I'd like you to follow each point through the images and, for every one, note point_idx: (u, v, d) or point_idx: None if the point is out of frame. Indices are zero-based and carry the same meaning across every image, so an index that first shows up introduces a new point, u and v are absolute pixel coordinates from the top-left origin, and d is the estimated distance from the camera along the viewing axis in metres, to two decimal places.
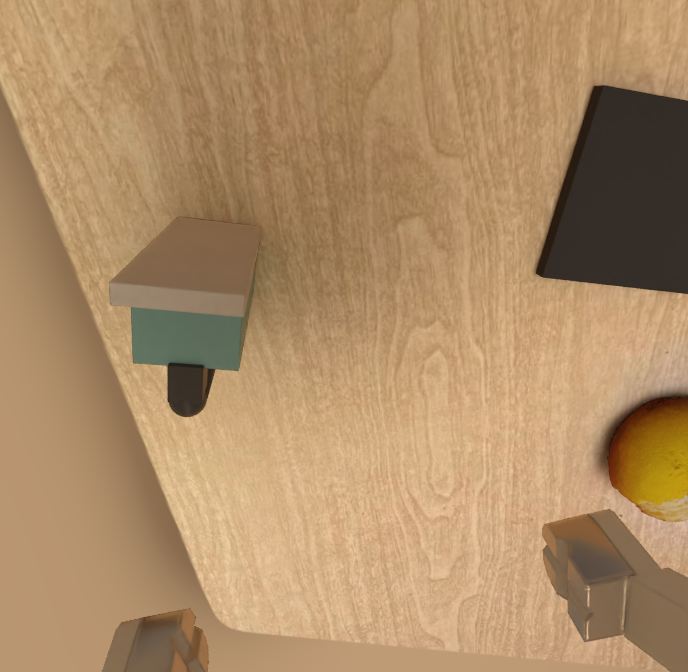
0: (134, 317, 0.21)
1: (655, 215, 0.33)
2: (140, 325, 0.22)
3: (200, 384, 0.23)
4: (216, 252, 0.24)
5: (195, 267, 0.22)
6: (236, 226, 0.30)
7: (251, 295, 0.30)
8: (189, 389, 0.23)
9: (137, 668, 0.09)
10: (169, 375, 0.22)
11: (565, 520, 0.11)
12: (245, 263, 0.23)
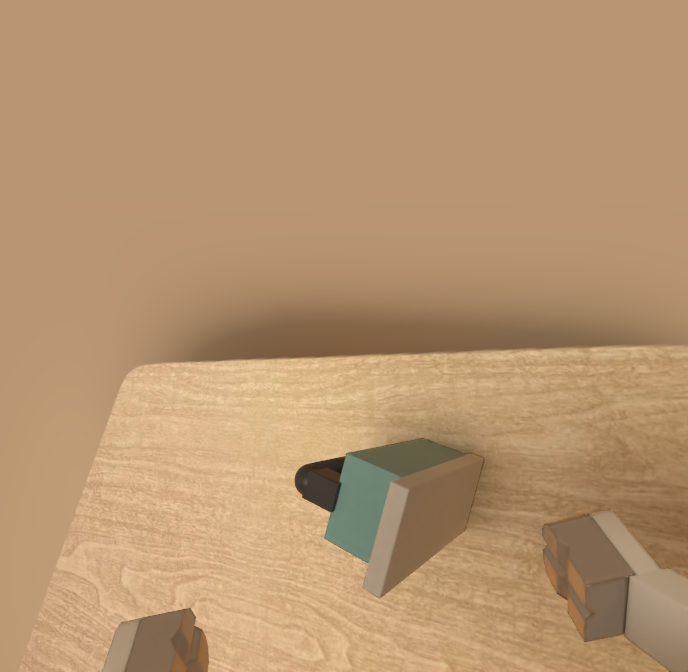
0: (383, 472, 0.25)
1: None
2: (375, 473, 0.25)
3: (318, 504, 0.26)
4: (434, 530, 0.27)
5: (417, 532, 0.24)
6: (466, 512, 0.32)
7: None
8: (316, 492, 0.26)
9: (137, 668, 0.09)
10: (330, 482, 0.26)
11: (565, 520, 0.11)
12: (418, 563, 0.26)
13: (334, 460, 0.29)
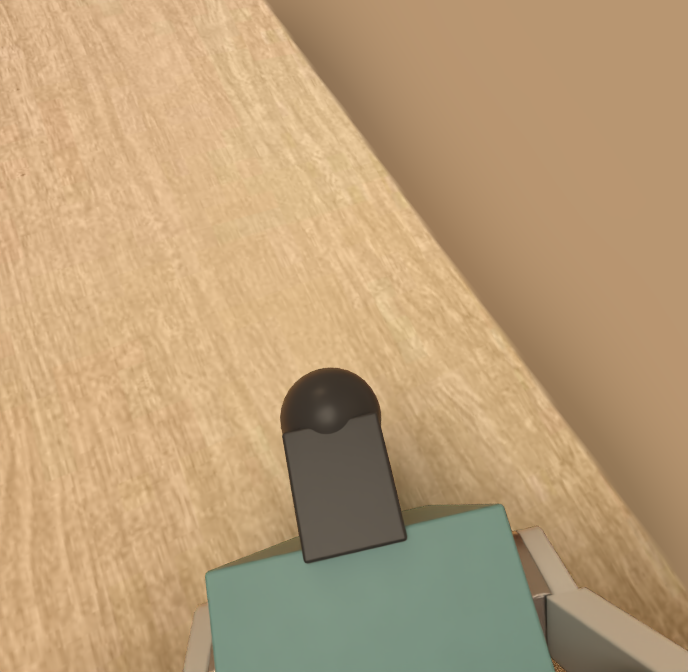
0: None
1: None
2: (520, 651, 0.07)
3: (299, 502, 0.08)
4: None
5: None
6: None
7: None
8: (328, 475, 0.08)
9: None
10: (393, 507, 0.07)
11: None
12: None
13: None
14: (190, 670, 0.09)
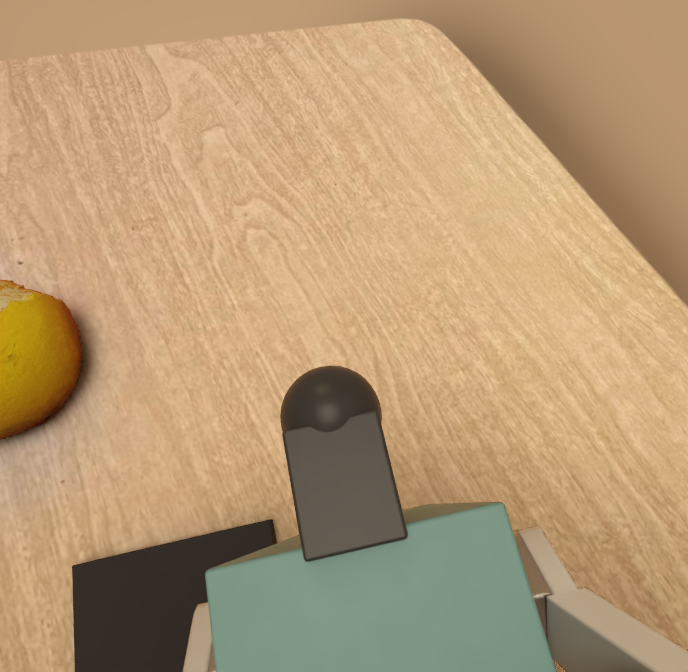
0: None
1: (168, 641, 0.27)
2: (521, 649, 0.07)
3: (300, 500, 0.07)
4: None
5: None
6: None
7: None
8: (327, 473, 0.08)
9: None
10: (394, 505, 0.07)
11: None
12: None
13: None
14: (190, 670, 0.09)
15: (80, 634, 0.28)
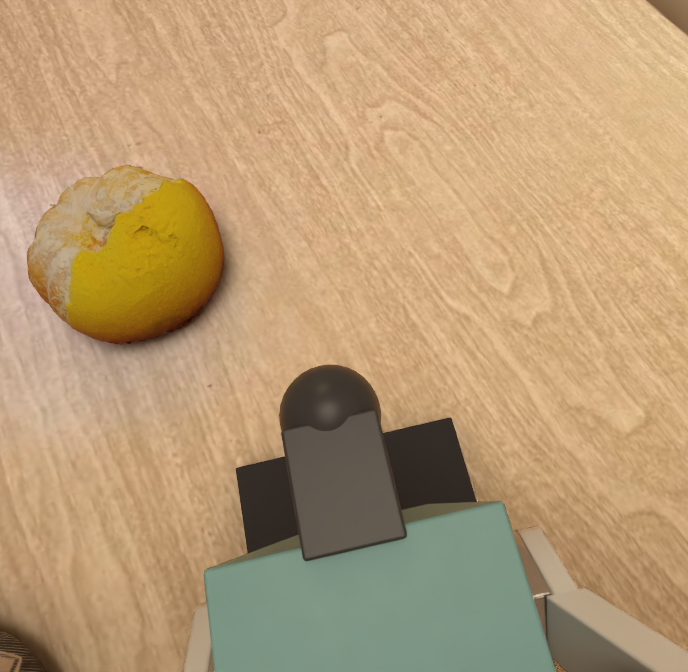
0: None
1: None
2: (521, 648, 0.07)
3: (298, 499, 0.07)
4: None
5: None
6: None
7: None
8: (327, 472, 0.08)
9: None
10: (393, 504, 0.07)
11: None
12: None
13: None
14: (190, 670, 0.09)
15: (253, 539, 0.25)
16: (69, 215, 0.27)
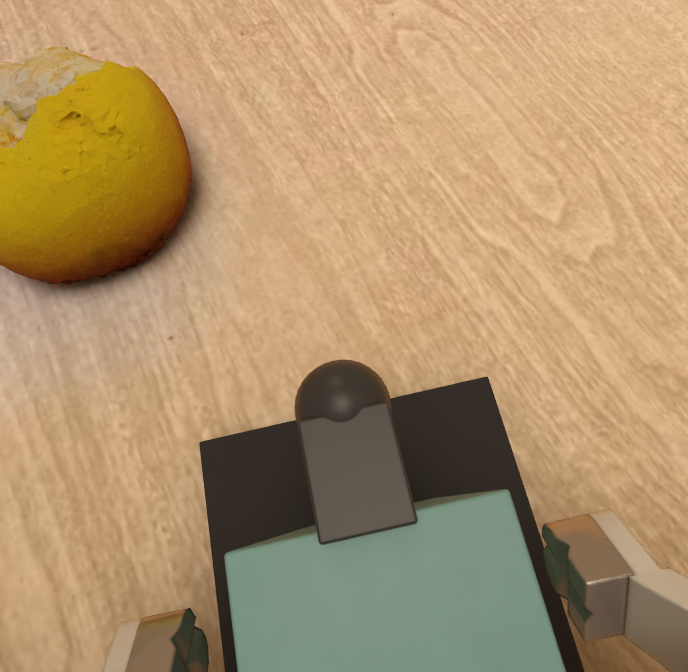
0: (550, 651, 0.07)
1: None
2: (525, 627, 0.07)
3: (315, 486, 0.08)
4: None
5: None
6: None
7: None
8: (341, 461, 0.08)
9: (137, 668, 0.09)
10: (404, 492, 0.08)
11: (565, 520, 0.11)
12: None
13: None
14: None
15: (219, 537, 0.18)
16: None
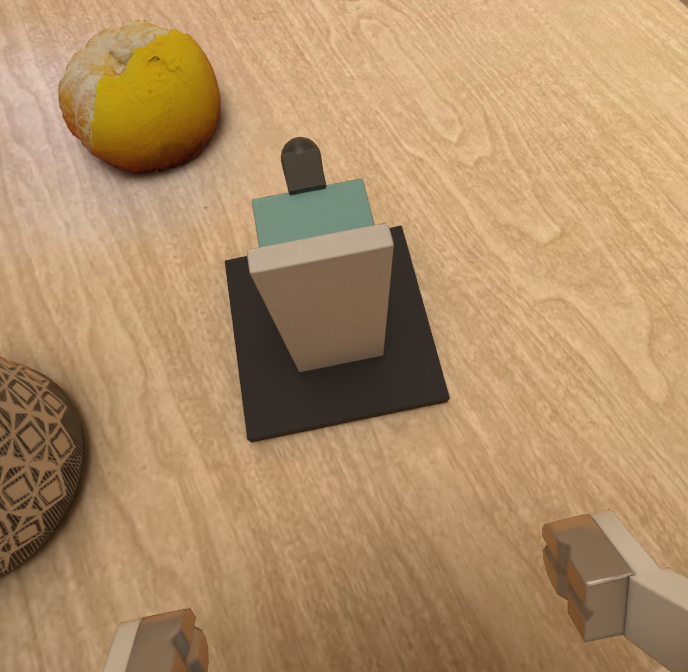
0: (370, 224, 0.20)
1: None
2: (363, 218, 0.20)
3: (287, 173, 0.20)
4: (317, 322, 0.22)
5: (324, 294, 0.20)
6: (321, 363, 0.29)
7: None
8: (298, 165, 0.21)
9: (137, 668, 0.09)
10: (321, 174, 0.20)
11: (565, 520, 0.11)
12: (280, 318, 0.21)
13: None
14: None
15: (237, 309, 0.31)
16: (94, 53, 0.33)
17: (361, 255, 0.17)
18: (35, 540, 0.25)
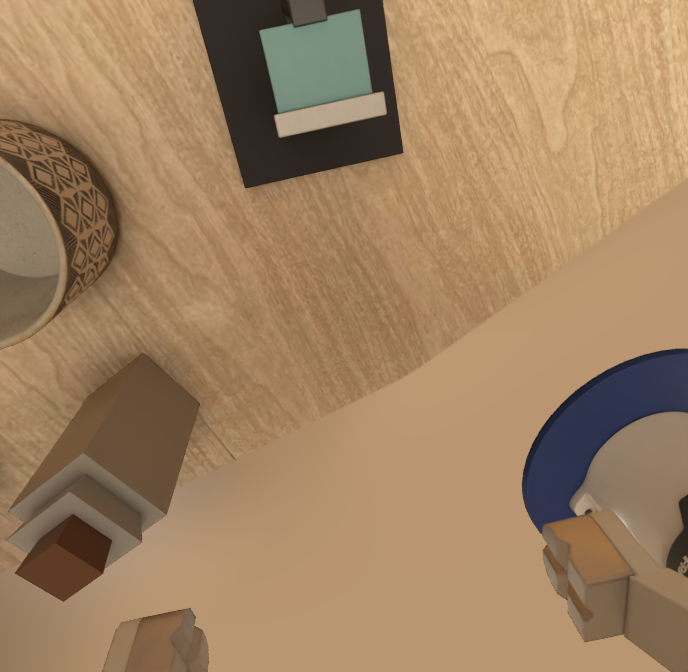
0: (365, 65, 0.24)
1: None
2: (359, 58, 0.23)
3: (291, 4, 0.22)
4: None
5: None
6: None
7: None
8: None
9: (137, 668, 0.09)
10: (323, 7, 0.22)
11: (565, 520, 0.11)
12: None
13: None
14: None
15: (215, 60, 0.32)
16: None
17: None
18: (104, 267, 0.36)
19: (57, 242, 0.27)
